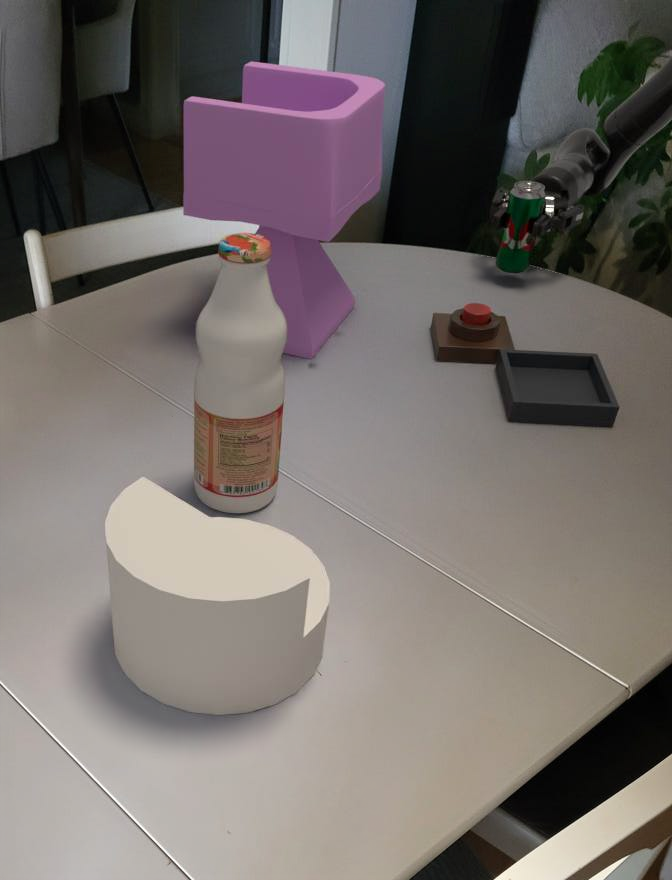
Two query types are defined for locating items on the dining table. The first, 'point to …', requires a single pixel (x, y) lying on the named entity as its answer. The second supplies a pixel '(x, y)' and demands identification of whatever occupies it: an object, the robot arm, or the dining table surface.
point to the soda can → (520, 226)
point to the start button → (476, 314)
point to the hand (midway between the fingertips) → (515, 226)
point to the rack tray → (555, 388)
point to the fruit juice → (239, 382)
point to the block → (469, 338)
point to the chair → (289, 179)
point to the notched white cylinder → (211, 604)
